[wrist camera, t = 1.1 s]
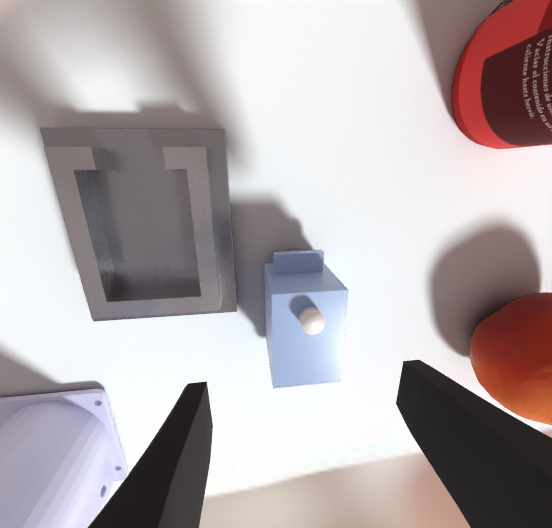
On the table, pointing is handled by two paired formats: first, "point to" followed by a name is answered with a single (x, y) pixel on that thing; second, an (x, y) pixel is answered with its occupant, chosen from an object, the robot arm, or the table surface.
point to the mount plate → (147, 218)
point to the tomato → (517, 356)
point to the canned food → (507, 78)
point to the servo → (303, 319)
